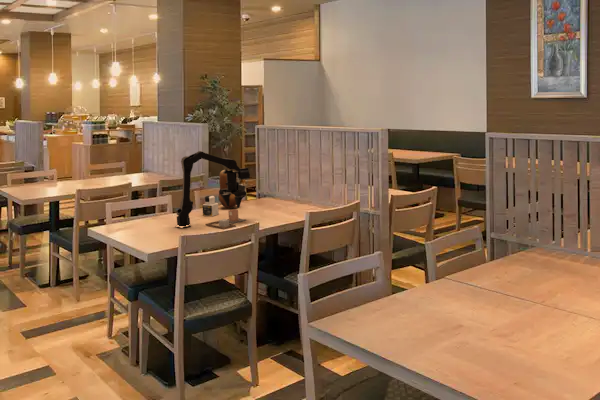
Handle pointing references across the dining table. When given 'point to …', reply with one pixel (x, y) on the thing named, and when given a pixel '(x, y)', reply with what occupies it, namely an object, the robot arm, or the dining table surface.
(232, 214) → the terracotta block
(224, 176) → the butternut squash
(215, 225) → the caddy
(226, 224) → the grey block
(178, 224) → the robot arm
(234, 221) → the slate pad
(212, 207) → the medicine bottle
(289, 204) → the dining table surface
